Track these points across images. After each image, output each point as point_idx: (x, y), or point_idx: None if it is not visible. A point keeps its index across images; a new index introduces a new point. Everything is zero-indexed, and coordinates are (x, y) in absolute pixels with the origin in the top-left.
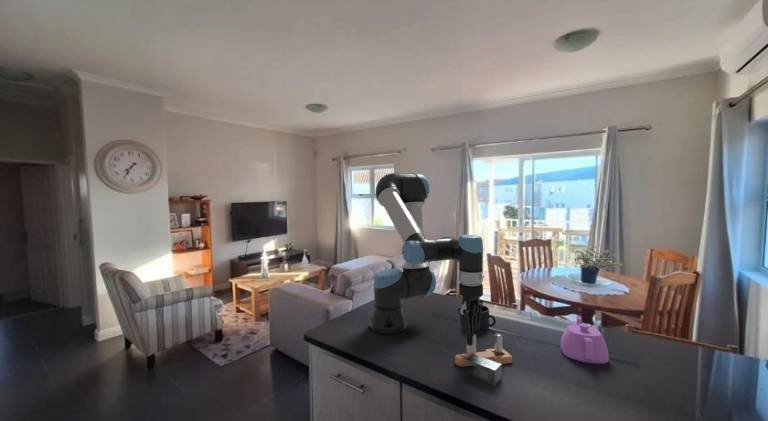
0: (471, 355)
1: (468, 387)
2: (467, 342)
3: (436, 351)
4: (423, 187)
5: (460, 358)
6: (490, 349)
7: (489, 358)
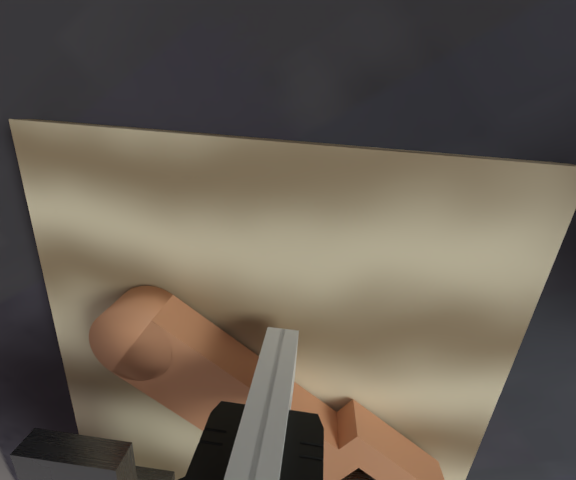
0: (85, 469)
1: (52, 385)
2: (205, 429)
3: (240, 47)
4: None
5: (112, 350)
6: (377, 460)
7: None
